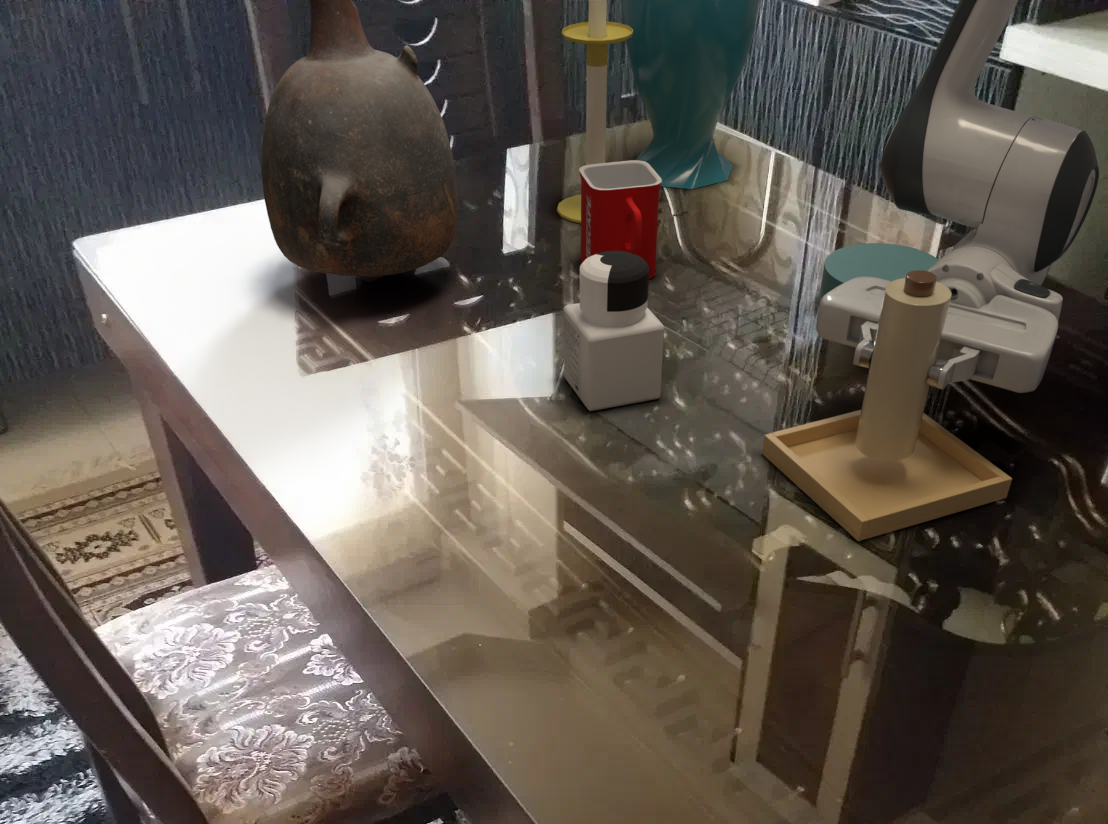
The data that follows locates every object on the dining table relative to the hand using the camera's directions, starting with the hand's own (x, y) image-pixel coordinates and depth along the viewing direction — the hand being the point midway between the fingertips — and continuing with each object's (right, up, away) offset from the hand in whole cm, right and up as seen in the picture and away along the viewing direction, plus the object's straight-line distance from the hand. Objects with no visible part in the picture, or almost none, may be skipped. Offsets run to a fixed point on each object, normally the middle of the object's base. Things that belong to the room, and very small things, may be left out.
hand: (898, 368), depth 96 cm
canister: (+1, -5, +6) cm, 8 cm away
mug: (-21, +24, +39) cm, 51 cm away
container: (-23, +5, +20) cm, 31 cm away
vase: (-11, +49, +64) cm, 81 cm away
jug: (-50, +24, +40) cm, 68 cm away
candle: (-23, +39, +54) cm, 70 cm away
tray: (+1, -7, +8) cm, 11 cm away
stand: (+8, +18, +32) cm, 37 cm away
